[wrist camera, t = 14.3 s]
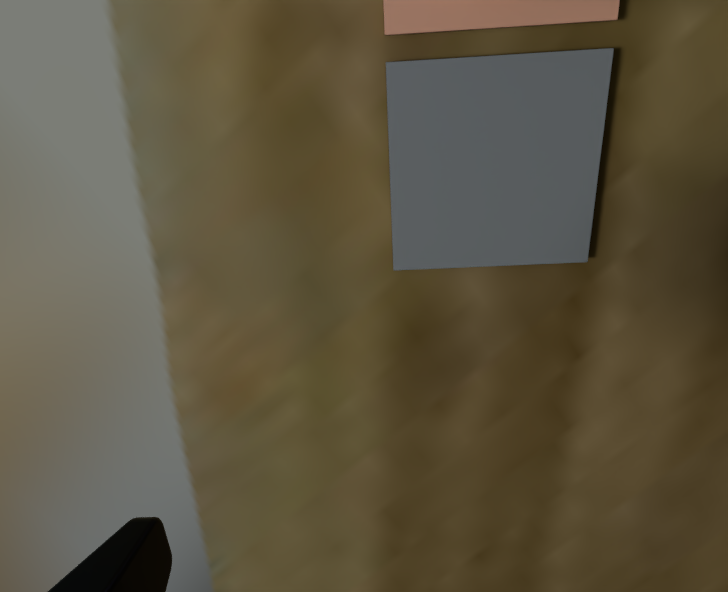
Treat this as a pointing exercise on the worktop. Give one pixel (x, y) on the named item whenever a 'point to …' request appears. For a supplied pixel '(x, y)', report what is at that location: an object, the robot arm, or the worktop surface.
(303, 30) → the worktop surface
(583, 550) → the worktop surface
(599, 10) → the game board
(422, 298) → the worktop surface
